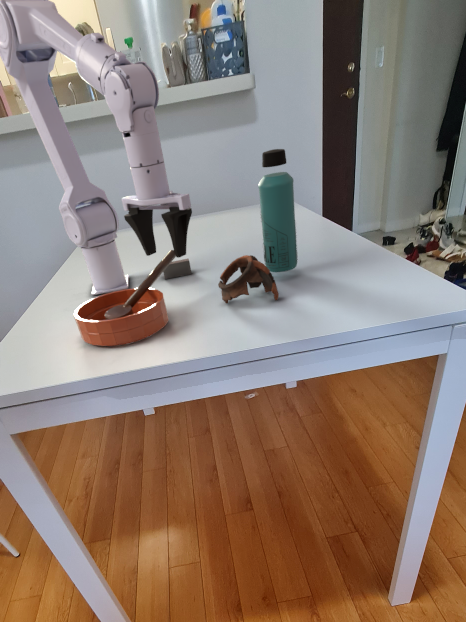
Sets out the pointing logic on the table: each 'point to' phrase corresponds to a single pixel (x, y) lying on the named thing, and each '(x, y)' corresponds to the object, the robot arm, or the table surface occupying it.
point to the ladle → (140, 290)
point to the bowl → (125, 329)
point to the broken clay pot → (246, 278)
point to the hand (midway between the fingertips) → (166, 254)
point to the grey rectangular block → (177, 269)
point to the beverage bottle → (278, 215)
